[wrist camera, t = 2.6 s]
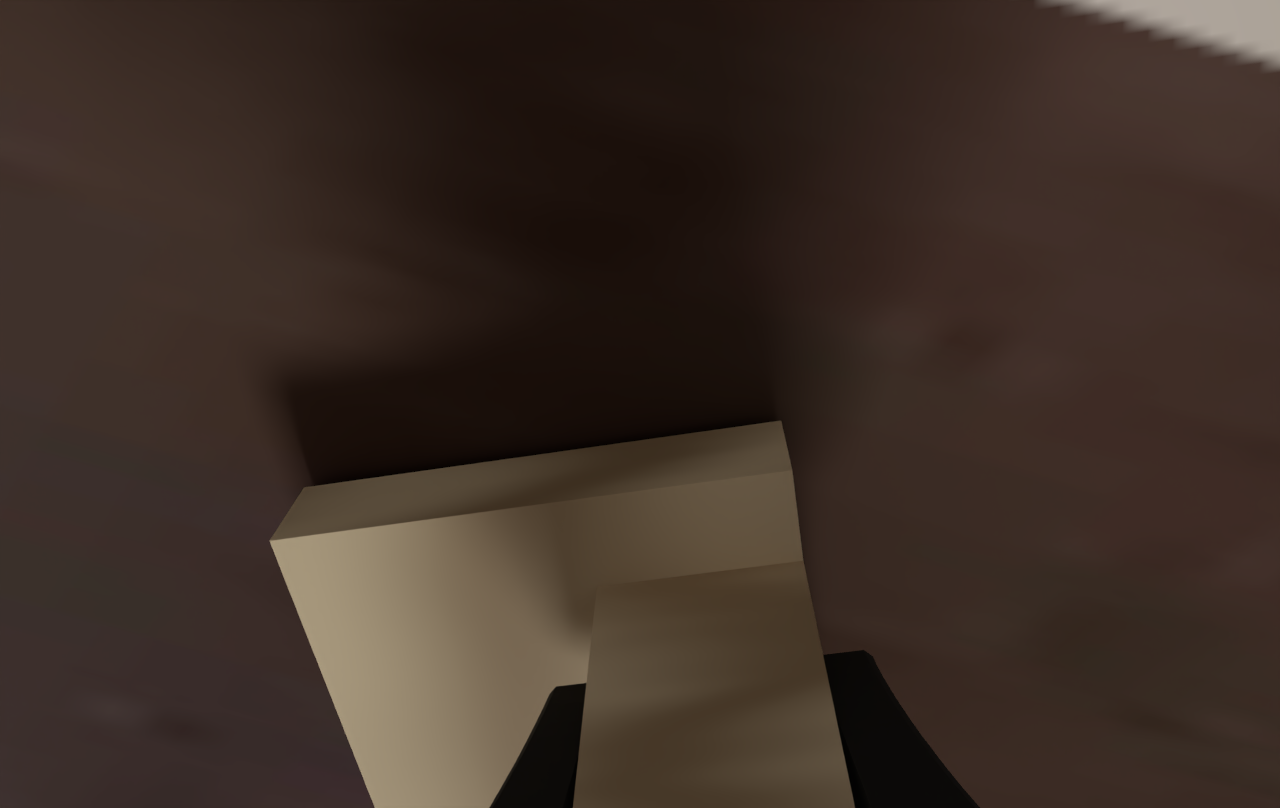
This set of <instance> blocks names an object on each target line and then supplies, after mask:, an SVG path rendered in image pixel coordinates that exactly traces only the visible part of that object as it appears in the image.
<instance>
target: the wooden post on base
mask: <svg viewBox="0 0 1280 808" xmlns="http://www.w3.org/2000/svg"><path fill="white" fill-rule="evenodd" d="M270 543H271V546H272V548H273V551H274V553H275V556H276V558H277V561H278V563H279V566H280V569H281V571H282V574H283V576H284V579H285V581H286V584H287V586H288V589H289V591H290V594H291V596H292V599H293V601H294V604H295V607H296V609H297V612H298V614H299V617H300V619H301V622H302V624H303V627H304V629H305V632H306V634H307V637H308V639H309V642H310V645H311V647H312V650H313V652H314V655H315V657H316V660H317V662H318V665H319V667H320V670H321V672H322V675H323V677H324V680H325V682H326V685H327V688H328V690H329V693H330V695H331V698H332V700H333V703H334V705H335V708H336V710H337V713H338V715H339V718H340V720H341V723H342V726H343V728H344V731H345V733H346V736H347V738H348V741H349V743H350V746H351V748H352V751H353V753H354V756H355V758H356V761H357V763H358V766H359V769H360V771H361V774H362V776H363V779H364V781H365V784H366V786H367V789H368V791H369V794H370V796H371V799H372V801H373V804H374V807H375V808H490V806H491V804H492V802H493V801H494V799H495V797H496V795H497V794H498V792H499V790H500V788H501V787H502V785H503V783H504V781H505V780H506V778H507V776H508V774H509V773H510V771H511V769H512V767H513V766H514V764H515V762H516V760H517V758H518V756H519V754H520V753H521V751H522V749H523V747H524V745H525V743H526V741H527V739H528V737H529V735H530V733H531V731H532V729H533V727H534V725H535V723H536V721H537V719H538V717H539V715H540V713H541V711H542V709H543V707H544V705H545V703H546V701H547V698H548V696H549V694H550V693H551V692H552V690H553V689H554V688H555V687H556V686H564V685H573V684H581V683H586V692H585V701H584V710H583V719H582V729H581V738H580V747H579V756H578V765H577V775H576V784H575V793H574V802H573V808H855V805H854V800H853V796H852V791H851V786H850V781H849V776H848V772H847V767H846V762H845V757H844V753H843V748H842V743H841V738H840V733H839V729H838V724H837V719H836V714H835V710H834V705H833V700H832V695H831V691H830V686H829V681H828V676H827V671H826V667H825V662H824V657H823V652H822V648H821V643H820V638H819V633H818V628H817V624H816V619H815V614H814V609H813V605H812V600H811V595H810V590H809V585H808V581H807V576H806V571H805V566H804V562H803V554H802V546H801V538H800V529H799V521H798V513H797V505H796V497H795V488H794V480H793V472H792V467H791V462H790V458H789V453H788V449H787V444H786V440H785V436H784V431H783V427H782V422H781V421H774V422H767V423H760V424H753V425H746V426H739V427H732V428H724V429H717V430H710V431H703V432H696V433H689V434H682V435H675V436H667V437H660V438H653V439H646V440H639V441H632V442H625V443H618V444H610V445H603V446H596V447H589V448H582V449H575V450H568V451H560V452H553V453H546V454H539V455H532V456H525V457H518V458H511V459H503V460H496V461H489V462H482V463H475V464H468V465H461V466H454V467H446V468H439V469H432V470H425V471H418V472H411V473H404V474H397V475H389V476H382V477H375V478H368V479H361V480H354V481H347V482H339V483H332V484H325V485H318V486H311V487H304V488H303V490H302V491H301V493H300V494H299V496H298V498H297V499H296V501H295V502H294V504H293V505H292V507H291V508H290V510H289V512H288V513H287V515H286V516H285V518H284V519H283V521H282V522H281V524H280V526H279V527H278V529H277V530H276V532H275V533H274V535H273V536H272V538H271V539H270Z"/></svg>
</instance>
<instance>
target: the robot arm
mask: <svg viewBox="0 0 1280 808" xmlns="http://www.w3.org/2000/svg"><path fill="white" fill-rule="evenodd" d="M823 657H824V662H825V667H826V671H827V676H828V681H829V686H830V691H831V695H832V700H833V705H834V710H835V714H836V719H837V724H838V729H839V733H840V738H841V743H842V748H843V753H844V757H845V762H846V767H847V772H848V776H849V781H850V786H851V791H852V796H853V800H854V805H855V808H980V807H979V806H978V805H977V804H976V803H975V802H974V800H973V799H972V798H971V797H970V796H969V795H968V793H967V792H966V791H965V790H964V789H963V788H962V786H961V785H960V784H959V783H958V782H957V780H956V779H955V778H954V777H953V776H952V774H951V773H950V772H949V771H948V769H947V768H946V767H945V766H944V764H943V763H942V762H941V760H940V759H939V758H938V756H937V755H936V754H935V752H934V751H933V750H932V749H931V747H930V746H929V745H928V743H927V742H926V741H925V739H924V738H923V737H922V735H921V734H920V733H919V731H918V730H917V728H916V727H915V726H914V724H913V723H912V721H911V720H910V719H909V717H908V716H907V714H906V713H905V711H904V710H903V708H902V707H901V705H900V704H899V702H898V701H897V699H896V698H895V696H894V694H893V693H892V691H891V690H890V688H889V686H888V685H887V683H886V681H885V679H884V678H883V676H882V674H881V672H880V670H879V669H878V667H877V665H876V663H875V661H874V658H873V656H871V655H870V654H869V653H867V652H866V651H864V650H861V651H853V652H844V653H836V654H827V655H823ZM585 692H586V683H581V684H573V685H564V686H556V687H555V688H554V689H553V690H552V692H551V693H550V694H549V696H548V698H547V701H546V703H545V705H544V707H543V709H542V711H541V713H540V715H539V717H538V719H537V721H536V723H535V725H534V727H533V729H532V731H531V733H530V735H529V737H528V739H527V741H526V743H525V745H524V747H523V749H522V751H521V753H520V754H519V756H518V758H517V760H516V762H515V764H514V766H513V767H512V769H511V771H510V773H509V774H508V776H507V778H506V780H505V781H504V783H503V785H502V787H501V788H500V790H499V792H498V794H497V795H496V797H495V799H494V801H493V802H492V804H491V806H490V808H573V802H574V793H575V784H576V775H577V765H578V756H579V747H580V738H581V729H582V719H583V710H584V701H585Z"/></svg>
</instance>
